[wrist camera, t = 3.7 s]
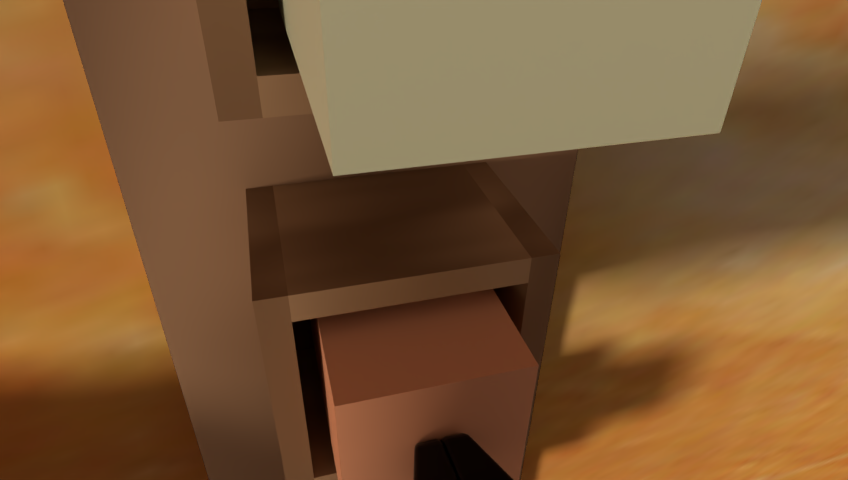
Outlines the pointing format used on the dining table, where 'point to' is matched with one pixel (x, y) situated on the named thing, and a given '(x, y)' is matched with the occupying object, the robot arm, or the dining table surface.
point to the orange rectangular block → (423, 382)
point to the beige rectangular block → (511, 75)
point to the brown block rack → (288, 221)
